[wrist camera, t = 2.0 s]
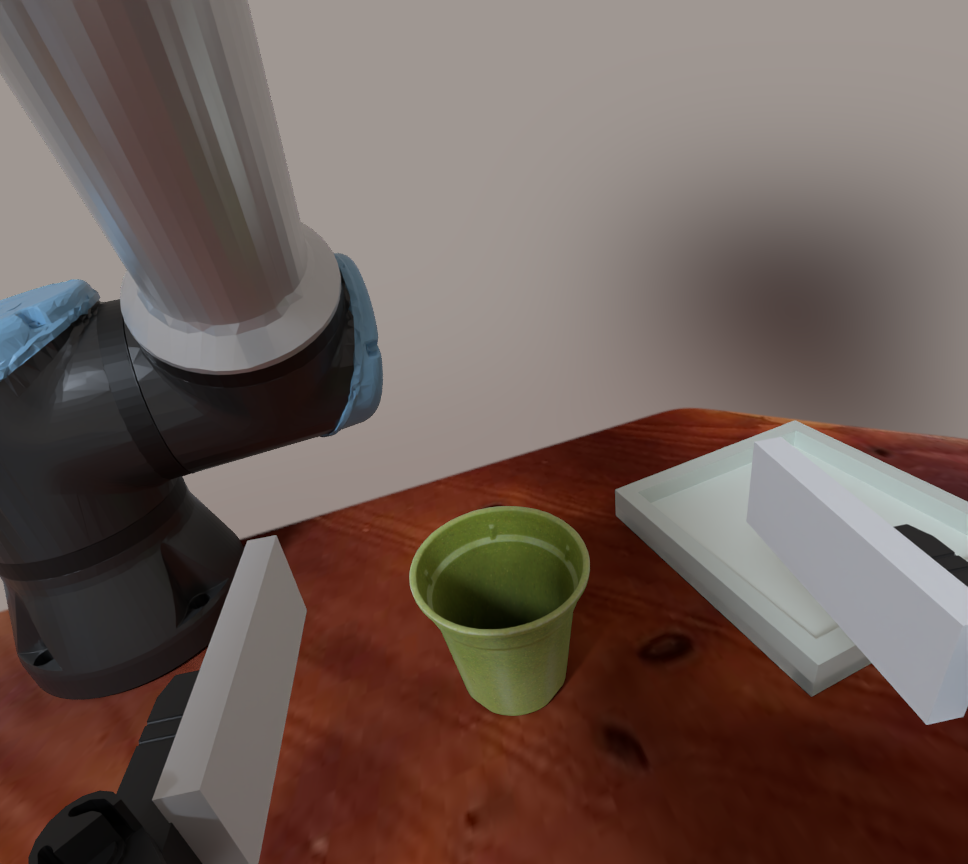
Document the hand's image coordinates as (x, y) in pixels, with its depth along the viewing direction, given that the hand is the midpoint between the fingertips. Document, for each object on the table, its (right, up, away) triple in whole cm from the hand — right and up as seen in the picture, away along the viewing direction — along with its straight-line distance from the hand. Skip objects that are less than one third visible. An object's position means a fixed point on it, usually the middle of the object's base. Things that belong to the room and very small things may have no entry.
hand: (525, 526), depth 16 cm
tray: (+21, -5, +24) cm, 32 cm away
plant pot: (+1, -12, +18) cm, 22 cm away
